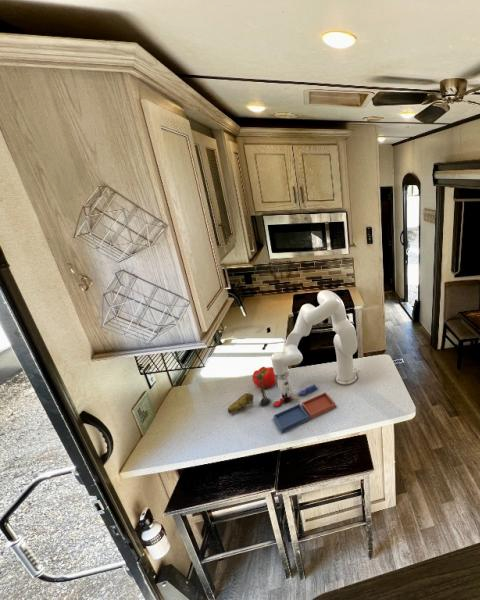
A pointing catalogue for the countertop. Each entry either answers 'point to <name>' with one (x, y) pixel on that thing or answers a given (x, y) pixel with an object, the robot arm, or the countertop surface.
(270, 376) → the tomato
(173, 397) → the countertop surface
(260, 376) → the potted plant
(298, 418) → the blue tray
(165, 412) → the countertop surface
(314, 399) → the red tray
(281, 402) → the red spoon
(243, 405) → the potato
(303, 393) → the blue spoon
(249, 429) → the countertop surface
